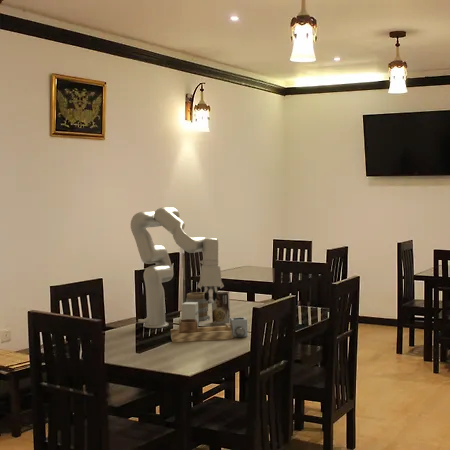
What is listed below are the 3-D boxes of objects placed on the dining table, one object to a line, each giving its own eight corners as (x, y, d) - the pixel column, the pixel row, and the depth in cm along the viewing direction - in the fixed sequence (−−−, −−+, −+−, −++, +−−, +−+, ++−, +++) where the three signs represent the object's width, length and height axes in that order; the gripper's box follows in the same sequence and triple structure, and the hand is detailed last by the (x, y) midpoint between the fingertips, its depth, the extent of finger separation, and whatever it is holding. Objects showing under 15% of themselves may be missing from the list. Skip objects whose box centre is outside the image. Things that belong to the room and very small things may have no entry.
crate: (180, 338, 322) (180, 323, 322) (179, 334, 332) (178, 319, 331) (197, 337, 323) (197, 322, 323) (196, 333, 333) (195, 318, 332)
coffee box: (230, 321, 369) (229, 291, 368) (229, 323, 362) (228, 292, 362) (213, 321, 369) (212, 291, 369) (212, 324, 363) (211, 293, 362)
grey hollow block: (233, 338, 324) (233, 321, 323) (230, 334, 334) (230, 317, 333) (248, 337, 325) (247, 320, 324) (245, 333, 335) (244, 317, 334)
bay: (172, 342, 320) (171, 330, 320) (170, 336, 333) (170, 325, 333) (232, 338, 324) (232, 327, 323) (228, 333, 337) (228, 322, 336)
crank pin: (207, 303, 340) (207, 286, 340) (207, 302, 343) (207, 286, 343) (214, 303, 341) (214, 286, 340) (213, 301, 344) (213, 285, 343)
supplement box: (195, 329, 350) (195, 304, 350) (181, 328, 352) (180, 304, 351) (199, 326, 358) (198, 301, 357) (185, 326, 359) (184, 301, 359)
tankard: (200, 321, 371) (199, 293, 370) (181, 320, 377) (180, 292, 377) (220, 315, 388) (219, 288, 387) (201, 314, 394) (200, 288, 394)
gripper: (194, 264, 336) (194, 302, 337) (228, 263, 338) (228, 301, 339) (193, 262, 344) (193, 299, 345) (226, 262, 346) (226, 298, 347)
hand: (210, 299), depth 342 cm, fingers closed on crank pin, 3 cm apart
